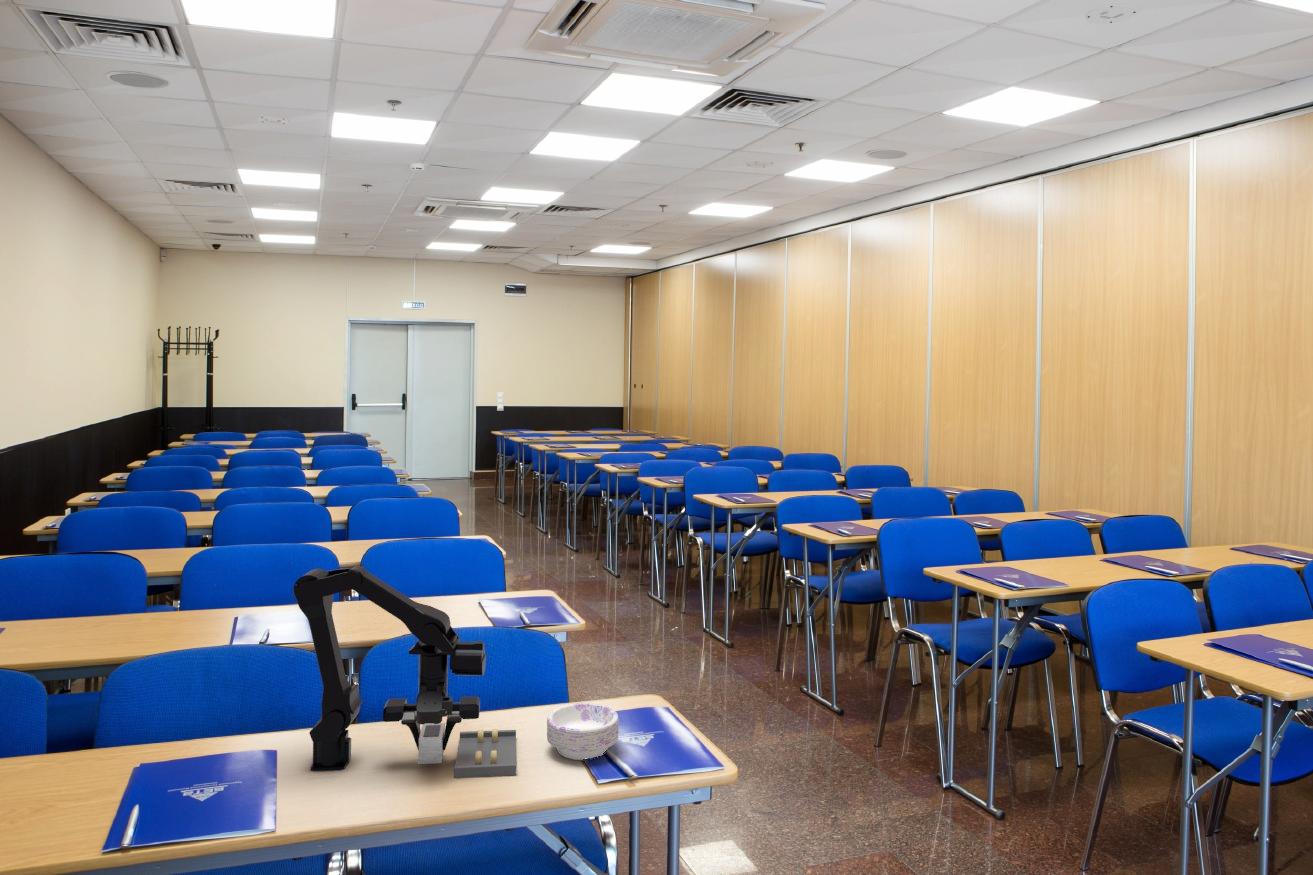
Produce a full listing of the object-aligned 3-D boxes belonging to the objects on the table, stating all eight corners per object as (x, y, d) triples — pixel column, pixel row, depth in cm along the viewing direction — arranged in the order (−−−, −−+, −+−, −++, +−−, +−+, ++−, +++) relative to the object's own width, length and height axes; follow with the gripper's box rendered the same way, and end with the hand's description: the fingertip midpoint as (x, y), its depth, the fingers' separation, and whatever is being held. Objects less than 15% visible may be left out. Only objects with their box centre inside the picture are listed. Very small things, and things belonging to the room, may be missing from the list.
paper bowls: (535, 761, 178) (536, 724, 177) (560, 733, 193) (561, 698, 192) (606, 771, 174) (607, 733, 174) (626, 742, 189) (627, 706, 189)
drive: (418, 763, 171) (418, 738, 171) (422, 747, 179) (422, 723, 179) (441, 762, 172) (442, 737, 171) (444, 746, 180) (445, 722, 179)
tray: (454, 777, 169) (454, 760, 169) (459, 740, 187) (460, 724, 187) (515, 775, 171) (516, 758, 171) (515, 738, 189) (516, 723, 189)
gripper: (379, 689, 165) (378, 769, 166) (478, 687, 168) (477, 765, 169) (387, 670, 176) (386, 745, 177) (480, 668, 179) (479, 741, 180)
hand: (431, 749), depth 175 cm, fingers closed on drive, 4 cm apart
